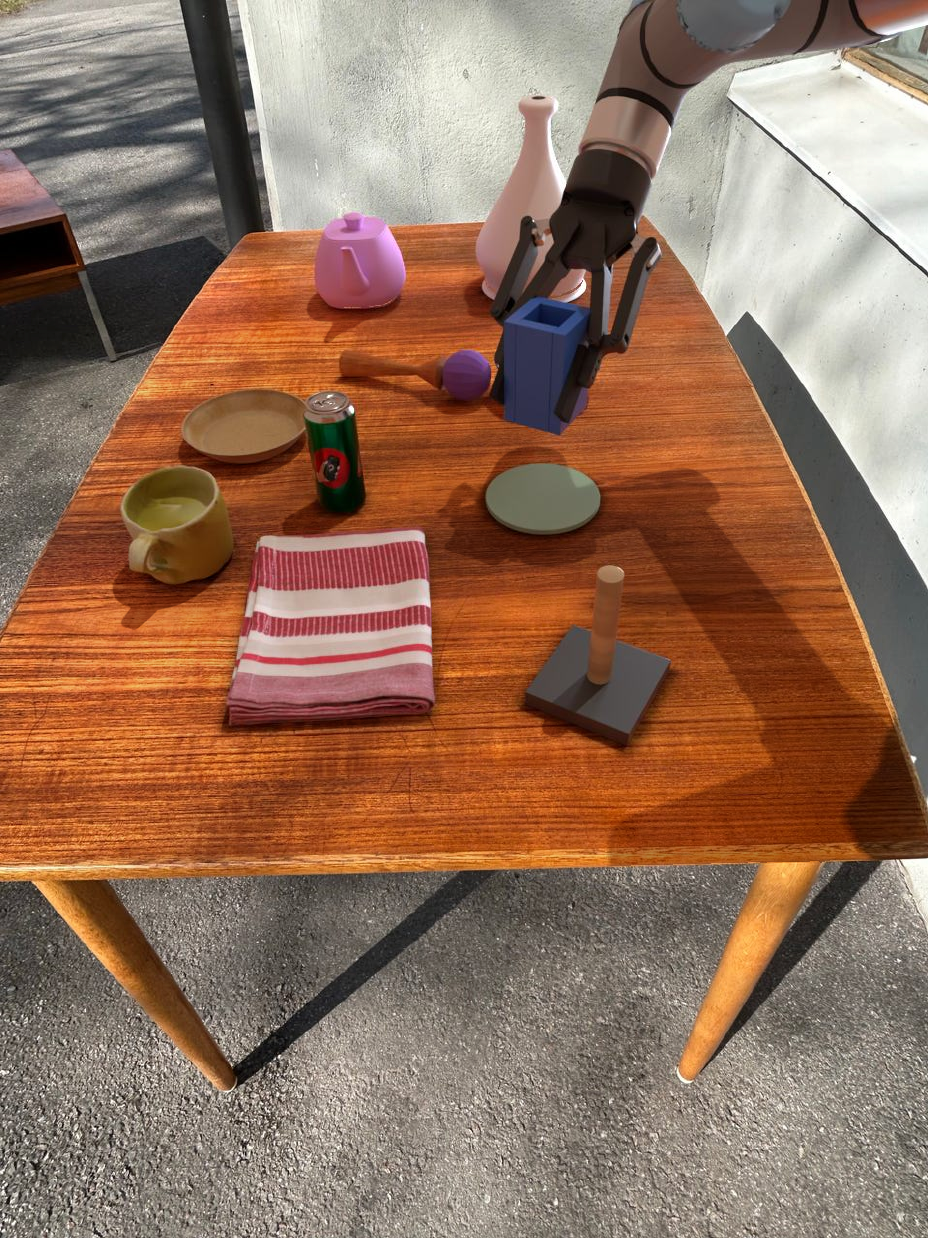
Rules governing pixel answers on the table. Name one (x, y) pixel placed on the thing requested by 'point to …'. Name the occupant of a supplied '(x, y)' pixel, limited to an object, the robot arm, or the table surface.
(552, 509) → the coaster
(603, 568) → the dowel stand
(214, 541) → the mug
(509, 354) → the sleeve
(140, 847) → the table surface
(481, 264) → the vase
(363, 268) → the teapot
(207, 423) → the plant saucer
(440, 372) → the purple maraca
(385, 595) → the dish towel
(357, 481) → the soda can
